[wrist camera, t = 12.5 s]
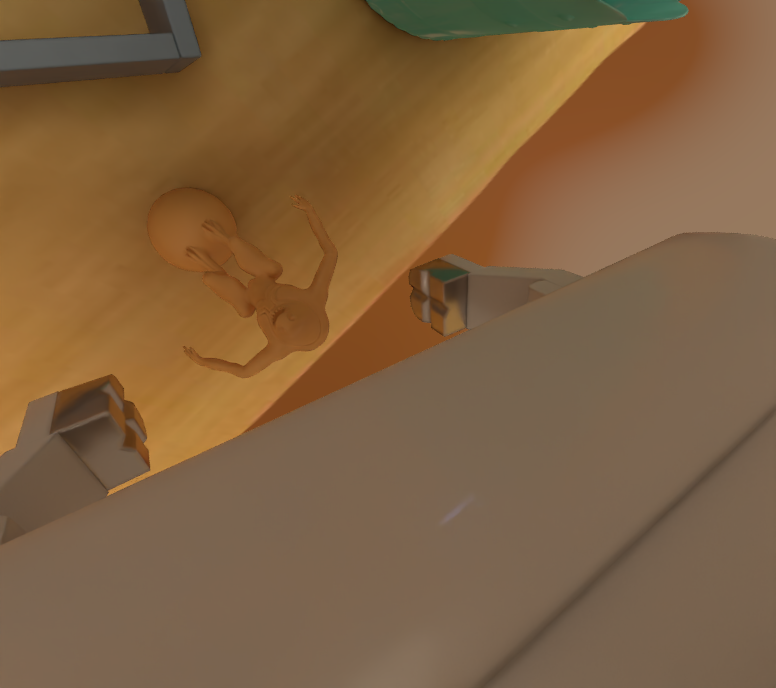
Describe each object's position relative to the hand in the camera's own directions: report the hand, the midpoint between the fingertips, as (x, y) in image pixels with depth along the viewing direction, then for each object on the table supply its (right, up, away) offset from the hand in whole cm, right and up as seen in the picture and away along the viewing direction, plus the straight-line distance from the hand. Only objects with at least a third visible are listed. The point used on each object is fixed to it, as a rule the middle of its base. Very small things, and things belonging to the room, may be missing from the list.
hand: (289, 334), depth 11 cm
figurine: (-7, +6, +11) cm, 14 cm away
